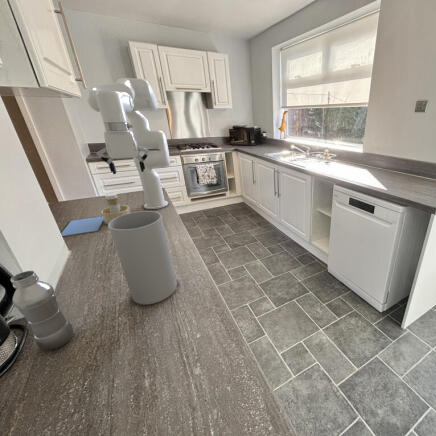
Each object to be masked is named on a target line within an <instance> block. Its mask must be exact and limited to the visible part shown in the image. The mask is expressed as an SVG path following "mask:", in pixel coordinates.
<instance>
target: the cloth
mask: <svg viewBox="0 0 436 436" xmlns="http://www.w3.org/2000/svg"><path fill="white" fill-rule="evenodd" d="M103 222H104V220H103V217H102V216H97V217H89V218H88V217H87V218H82V219H74V220H70V222H69V223H68V224H67V226H66V227H65V228H64V229H63V230H62V231H61V233H60V234H62V236H63V237H68V236H75V235H82V234H87V233H94V232H98V231H99V230H100V228H101V226H102V224H103Z"/></svg>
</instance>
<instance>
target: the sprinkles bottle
mask: <svg viewBox="0 0 436 436" xmlns="http://www.w3.org/2000/svg"><path fill="white" fill-rule="evenodd" d="M104 196H105V199H106V201H107V205H108V208H110V211H111V214H112V213H118V212H122V211H121V208H120V205H121V204H120V203H119V199H118V195H117V193H116V192H111V193H107V194H105V195H104Z"/></svg>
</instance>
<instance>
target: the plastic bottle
mask: <svg viewBox="0 0 436 436" xmlns="http://www.w3.org/2000/svg"><path fill="white" fill-rule="evenodd" d="M10 282H11V284H12V286H13V288H14V289H15V291H14V293H13V296H12V305H13V306H14V307H15V308H16V309H17V310H18V311H19V312H20V314H22V316H23V317H24V319H25V320H26V321H27V322H28V324H29V326H30V328H31V330H32V333H33V336H34V341H35V344H36V345H37V346H38V347H39V348H40V349H41V350H43V351H52V350H56V349H59V348H61V347H62V346H64V345H65V344H66V343H68V342H69V341H70V340H71V338H72V336H73V334H74V329H73V328H74V327H73V324H72V323H71V322H70V321H69V320H68V319H67V318H66V316H65V315H64V314H63V311H61V309H60V307H59V303H58V301H57V297H56V292H55V289H54V286H52V285H51V284H50V283H48V282H46V281H42V280H40V278H39V276H38V275H37V273H36V271H35V270H25V271H22V272H19V273H17V274H15V275H14V276H12V277H11V278H10Z"/></svg>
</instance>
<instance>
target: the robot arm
mask: <svg viewBox="0 0 436 436" xmlns="http://www.w3.org/2000/svg"><path fill="white" fill-rule="evenodd" d="M86 99H87V103H88V106H90V108H91V109H92V110H94V111H95V112H98V113H100V116H101V120H102V123H103V126H104V129H105V131H103V137H104V138H103V139H104V143H105V147H104V148H102V149H100V150H99V151H97V152H96V153H95V155H97V156H98V158H100V160H102V161H103V162H104V163H106V164H107V165H108V168H109V170H110V173H111V172H112V174H113V175H116V174H117V170H116V166H115V163H114V162H113V161H114V160H119V159H132V160H133V163H134V164H135V167H136V169H137V172H138V176H139V178H140V179H139V180H140V183H141V186H142V191H143V196H144V199H145V204H143V208H144V209H146V210H159V209H163V208H165V207H167V206H168V205H169V201H167V200H166V199H165V197H164V196H165V195H164V191H163V187H162V183H161V178H160V175H159V173H158V172H157V171H155V169H166V168H167V169H168V168H169V167H170V165H171V157H170V152H169V146H168V140H167V136H166V134H165V132H164V131H162V130H159V129H151V128H150V123H149V120H148V119H147V118H146V116H145V115H144V114H142V113H141V112H156V111H158V108H159V104H158V100H157V97H156V95H155V92H154V89H153V88H152V86H151V84H150V82H148V80H146V79H145V78H133V77H121V78H118V79H117V80H116V81H114V82H113V83H107V84H103V85H96V86H93V87H92V88H90V89H89V90H88V92H87V96H86ZM128 121H129V122H128ZM149 149H157V150H149ZM105 153H107V156H108V157H109V158H108V157H105V155H104V154H105Z"/></svg>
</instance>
